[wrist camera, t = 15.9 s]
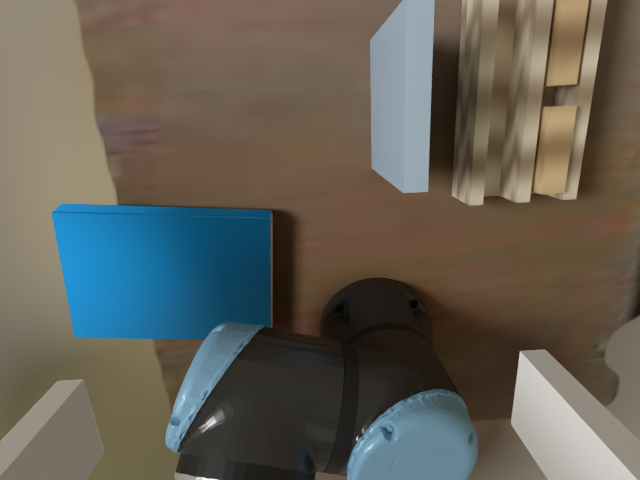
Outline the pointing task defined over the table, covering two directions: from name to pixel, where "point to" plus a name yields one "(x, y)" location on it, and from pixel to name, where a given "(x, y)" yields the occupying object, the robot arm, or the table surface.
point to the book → (164, 269)
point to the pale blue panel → (403, 95)
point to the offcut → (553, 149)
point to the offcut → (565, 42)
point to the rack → (514, 97)
